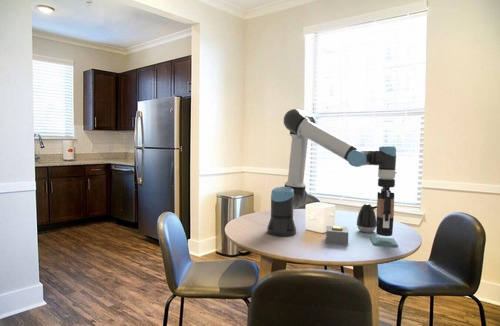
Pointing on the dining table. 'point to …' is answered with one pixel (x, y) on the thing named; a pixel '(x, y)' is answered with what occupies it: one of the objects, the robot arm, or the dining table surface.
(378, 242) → the mat
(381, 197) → the travel mug
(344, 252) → the dining table surface
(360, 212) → the pump dispenser
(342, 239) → the block
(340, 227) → the plunger
